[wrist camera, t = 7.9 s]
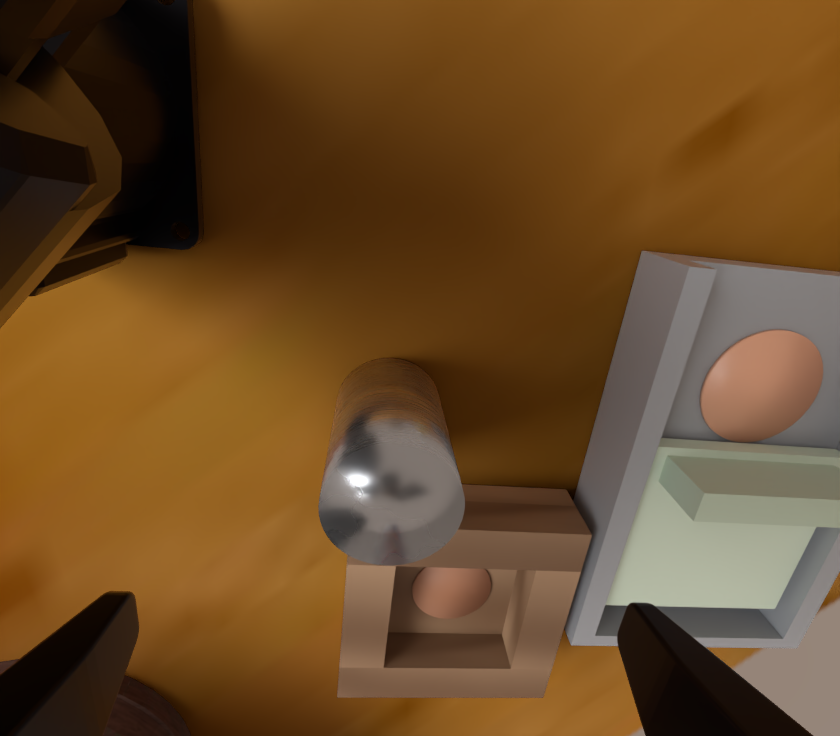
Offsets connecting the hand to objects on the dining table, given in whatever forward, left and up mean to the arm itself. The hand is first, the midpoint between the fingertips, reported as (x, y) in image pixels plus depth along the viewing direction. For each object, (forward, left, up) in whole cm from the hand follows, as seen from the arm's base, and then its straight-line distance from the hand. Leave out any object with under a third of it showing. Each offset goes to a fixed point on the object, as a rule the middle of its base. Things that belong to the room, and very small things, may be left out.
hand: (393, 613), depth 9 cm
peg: (0, 0, -9) cm, 9 cm away
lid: (+3, +12, -7) cm, 14 cm away
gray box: (+1, +12, -9) cm, 15 cm away
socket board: (+7, +3, -9) cm, 12 cm away
